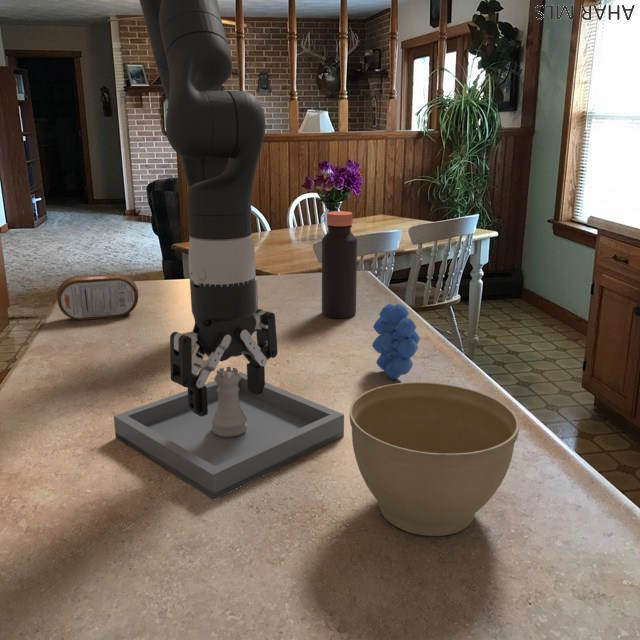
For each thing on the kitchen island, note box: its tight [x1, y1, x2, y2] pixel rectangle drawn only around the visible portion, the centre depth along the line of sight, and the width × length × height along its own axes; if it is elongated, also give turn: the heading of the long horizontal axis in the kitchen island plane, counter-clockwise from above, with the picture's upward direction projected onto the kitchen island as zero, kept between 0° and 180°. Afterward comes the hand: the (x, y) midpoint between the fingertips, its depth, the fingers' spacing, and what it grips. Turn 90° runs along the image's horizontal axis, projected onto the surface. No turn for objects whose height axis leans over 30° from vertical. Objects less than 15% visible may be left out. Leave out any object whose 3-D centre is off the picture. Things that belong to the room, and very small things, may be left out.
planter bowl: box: [349, 381, 520, 537], centre depth 67 cm, size 16×16×11 cm
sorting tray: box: [113, 371, 345, 501], centre depth 84 cm, size 20×20×3 cm
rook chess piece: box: [212, 366, 248, 438], centre depth 83 cm, size 4×4×8 cm
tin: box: [56, 273, 139, 321], centre depth 131 cm, size 15×3×8 cm, turn 108°
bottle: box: [321, 210, 358, 319], centre depth 131 cm, size 7×7×20 cm
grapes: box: [371, 303, 421, 380], centre depth 101 cm, size 12×7×12 cm, turn 19°
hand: (228, 403), depth 83 cm, fingers open, 8 cm apart
